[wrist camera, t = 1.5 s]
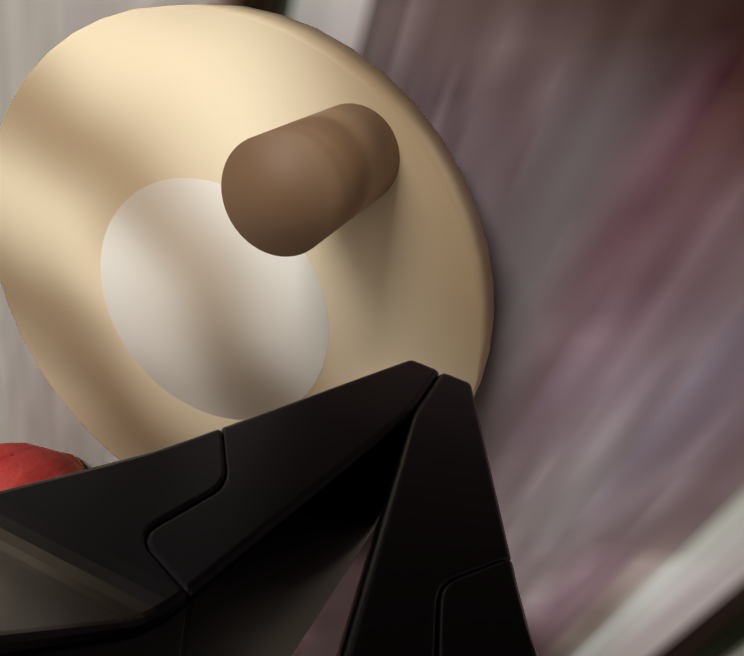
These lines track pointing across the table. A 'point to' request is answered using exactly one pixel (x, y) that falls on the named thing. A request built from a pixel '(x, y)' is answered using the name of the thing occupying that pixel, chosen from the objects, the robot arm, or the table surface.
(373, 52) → the table surface
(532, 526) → the table surface
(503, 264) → the table surface
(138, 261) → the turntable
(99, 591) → the robot arm
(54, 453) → the onion
